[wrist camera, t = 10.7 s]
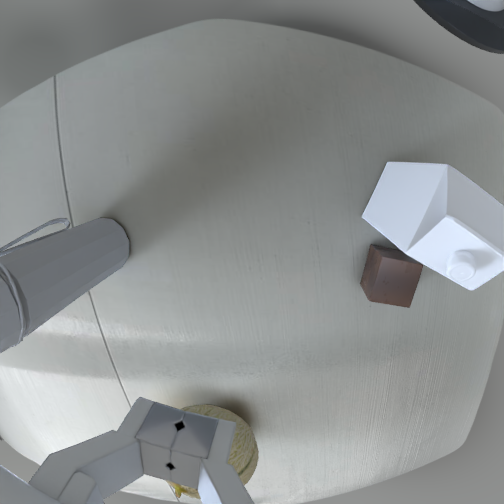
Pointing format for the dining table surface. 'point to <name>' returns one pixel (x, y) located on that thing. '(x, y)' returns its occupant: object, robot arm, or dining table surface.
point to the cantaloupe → (241, 450)
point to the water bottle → (54, 273)
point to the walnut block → (390, 276)
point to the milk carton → (440, 220)
